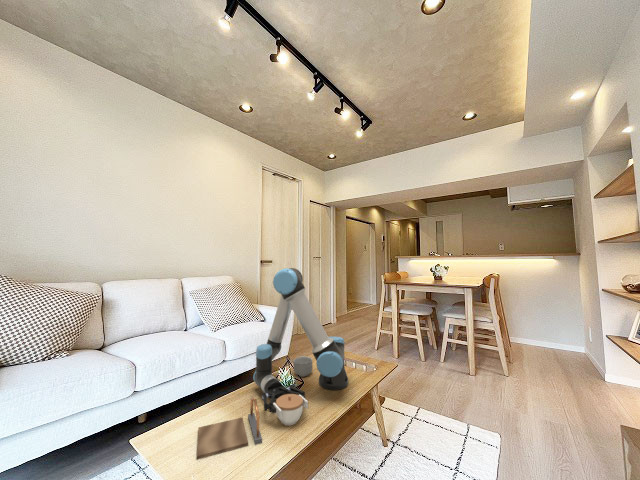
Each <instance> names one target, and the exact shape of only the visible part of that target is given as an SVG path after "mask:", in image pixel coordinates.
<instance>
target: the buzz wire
mask: <svg viewBox="0 0 640 480" xmlns="http://www.w3.org/2000/svg"><path fill="white" fill-rule="evenodd" d="M257 401H258V400H257V399H256V398H255V397H254V396H251V397H250V410H249V411H250V413H249V414H251V415H253V413H254V410H255V417H256V421H257V429H256V436H257V437H258V436H259V430H260V412H259V407H258V402H257Z"/></svg>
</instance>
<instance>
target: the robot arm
mask: <svg viewBox="0 0 640 480" xmlns="http://www.w3.org/2000/svg"><path fill="white" fill-rule="evenodd" d="M303 281H304V279H303V275H302V273H301V271H300V270H299V269H297V268H294V267H289V268H286V267H285V268H283V269H281V270H279V271H278V272H276V274H274V276H273V281H272V285H273V288H274V289H275V291H276V292H277V293H278V294H280V299H279V302H278V306H277V307H276V312H275V314H274V318H273V322H272V325H271V328H270V331H269V335H268V339H267V341H266V343H264V344H260V345H257V346H256V351H255V356H256V358H255V361H256V362H255V366H256V367H255V371H254V373H253V377H252V379H253V382H254V383H255V384H256V386H258V388H259V389H260V390H261V391H262V393H261V400H262V402H263V411H265V412H267V411H268V410H269V411H268V412H269V413H272V414H275V415H276V416H277V418H278V417H279V418H282V410H281V409H280V408H279V407H278V406H277V405H276V400H277V399H278V398H279V397H280V396H282V395H286V394H296V395H299V396H301V397H302V398H303V407H304V408H305V409H306V410H308V409H309V405H308V404H309V401H308V400H307V399H306V395H305V394H306V393H305V392H306V391H305V390H302V389H299V388H297V387H295V386H292V385H291V384H289V385H288V387H285V386H283V384H282V382H281V381H280V380H278V379H277V378H276V377H275V375H273V360H274V359H275V358H276V357H277V356H278V354H280V352H281V349H282V343H283V339H284V336H285V333H286V329H287V327H288V326H287V325H288V323H289V319H290V316H291V313H292V310H293V313H294V314H295V316H296V318H297V320H298V323H299V324H300V325H301V327H302V329H303V331H304V333H305V334H306V337H307V339H308V340H309V343H310V345H311V346H312V350H311V353H312V355H313V357H314V358H315V361H316V368H317V371H318V372H319V373H320V374H319V377H318V385H319V386H320V387H321V388H323V389H325V390H330V391H338V390H343V389H345V388H347V387H348V386H349V378H348V374H347V371H346V368H345V365H346V364H345V361H346V360H345V343H346V342H345V339H344V338H343V337H341V336H328V334H327V331H326V330H325V328H324V326H323V324H322V323H321V321H320V319H319V317H318V315H317V314H316V312H315V309H314V308H313V306H312V304H311V303H310V300H309V299H308V297H307V296H306V294H305V291H306V287H305V285H304V283H303ZM347 385H348V386H347ZM346 386H347V387H346ZM268 399H270V400H269V403H268ZM279 418H278V419H279Z"/></svg>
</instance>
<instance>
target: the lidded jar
mask: <svg viewBox="0 0 640 480" xmlns="http://www.w3.org/2000/svg"><path fill="white" fill-rule="evenodd" d="M275 403H276V405H277V406H278V407H279V408H280V409H281V410H282V418H279V417H278V416H277V419H279V421H280V422H281V424H282V425H285V426H294V425H295V424H297V422H298V421H299V420H300V418H301V417H302V413H303V409H304V408H303V407H304V406H303V398H302V397H301V396H299V395H296V394H286V395H282V396H280V397H279V398H278V399H276V400H275Z"/></svg>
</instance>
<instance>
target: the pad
mask: <svg viewBox="0 0 640 480" xmlns="http://www.w3.org/2000/svg"><path fill="white" fill-rule="evenodd" d="M197 429H198V430H197V444H196V445H197V447H196V449H197V451H196V460H200V459H204V458H208V457H210V456H215V455H219V454H222V453H223V454H224V453H226V452H229V451H233V450H237V449H241V448H245V447H247V446H249V440H248V436H247V435H248V434H247V432H246V426H245V422H244V418H243V416H242V417H238V418H235V419H230V420H225V421H221V422H216V423H213V424H208V425H207V424H206V425H204V426H199V427H197Z"/></svg>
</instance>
